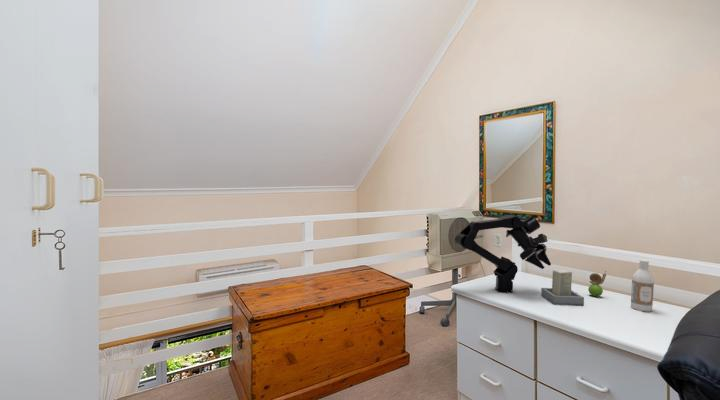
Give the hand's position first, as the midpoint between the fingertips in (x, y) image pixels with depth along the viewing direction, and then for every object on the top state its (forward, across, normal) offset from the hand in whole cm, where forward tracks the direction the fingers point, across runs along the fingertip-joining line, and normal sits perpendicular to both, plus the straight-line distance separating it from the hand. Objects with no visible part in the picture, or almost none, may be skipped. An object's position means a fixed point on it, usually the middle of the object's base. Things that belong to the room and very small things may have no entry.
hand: (547, 266), depth 158 cm
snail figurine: (+21, +18, -1) cm, 28 cm away
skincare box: (+14, 0, +5) cm, 14 cm away
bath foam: (+33, +13, -13) cm, 37 cm away
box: (+14, 0, +5) cm, 15 cm away
